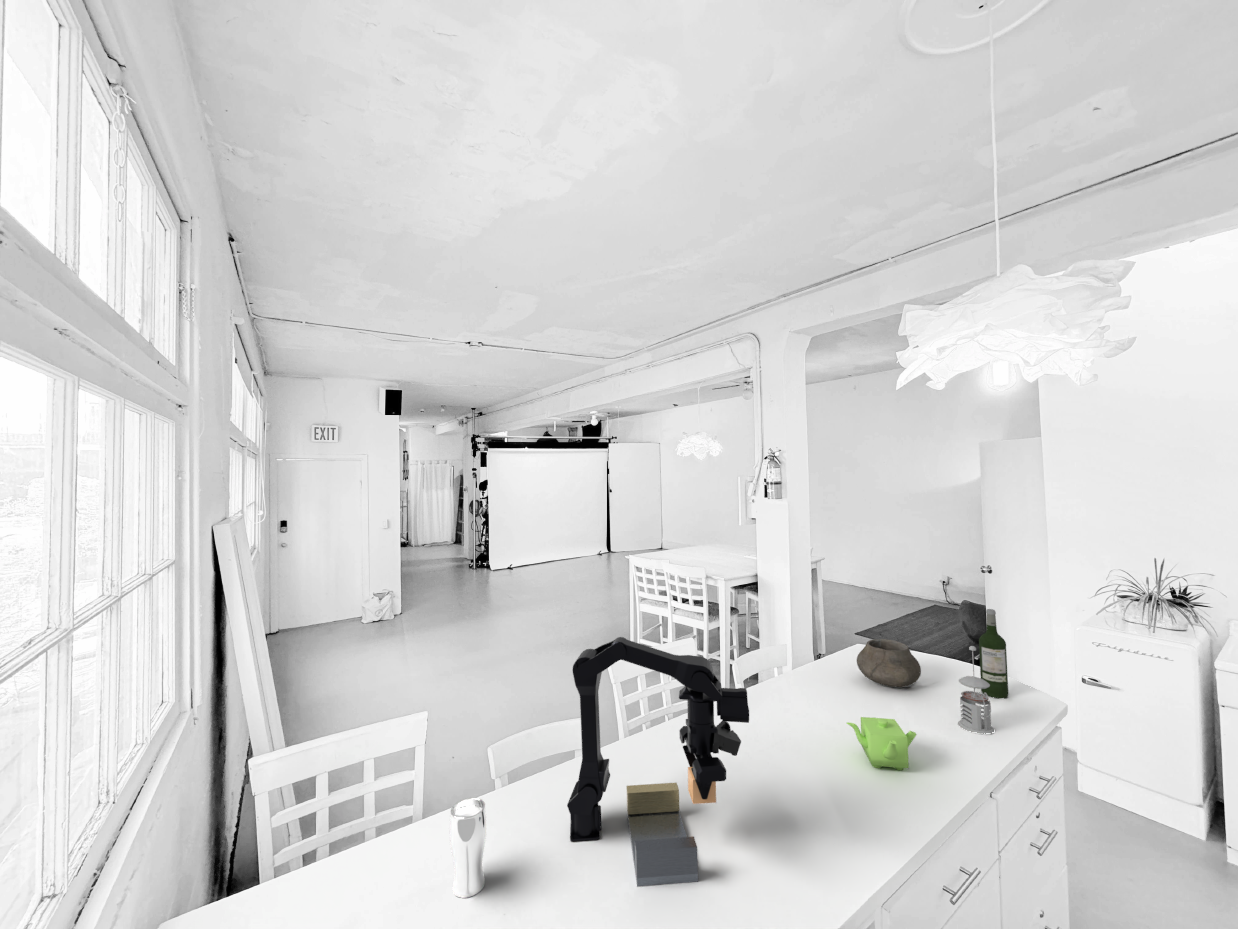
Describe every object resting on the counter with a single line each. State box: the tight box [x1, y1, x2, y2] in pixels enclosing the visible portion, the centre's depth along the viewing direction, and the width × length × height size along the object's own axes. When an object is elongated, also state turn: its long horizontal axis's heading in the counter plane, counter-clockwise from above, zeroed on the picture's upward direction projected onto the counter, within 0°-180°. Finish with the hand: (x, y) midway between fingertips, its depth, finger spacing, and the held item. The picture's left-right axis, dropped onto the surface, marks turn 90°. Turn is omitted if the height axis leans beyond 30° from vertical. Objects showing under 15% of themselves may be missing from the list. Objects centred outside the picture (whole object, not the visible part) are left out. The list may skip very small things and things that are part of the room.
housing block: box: [687, 766, 717, 805], centre depth 113 cm, size 5×5×5 cm
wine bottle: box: [978, 608, 1009, 699], centre depth 185 cm, size 8×8×30 cm
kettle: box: [846, 716, 917, 771], centre depth 143 cm, size 15×14×11 cm
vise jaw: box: [626, 782, 680, 814], centre depth 121 cm, size 12×3×5 cm, turn 94°
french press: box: [957, 645, 995, 735], centre depth 161 cm, size 10×12×25 cm
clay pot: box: [856, 638, 922, 688], centre depth 197 cm, size 22×21×15 cm
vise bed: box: [626, 810, 699, 887], centre depth 112 cm, size 12×22×7 cm, turn 4°
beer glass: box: [449, 797, 487, 899], centre depth 101 cm, size 7×7×15 cm
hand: (701, 791), depth 113 cm, fingers closed on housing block, 5 cm apart
